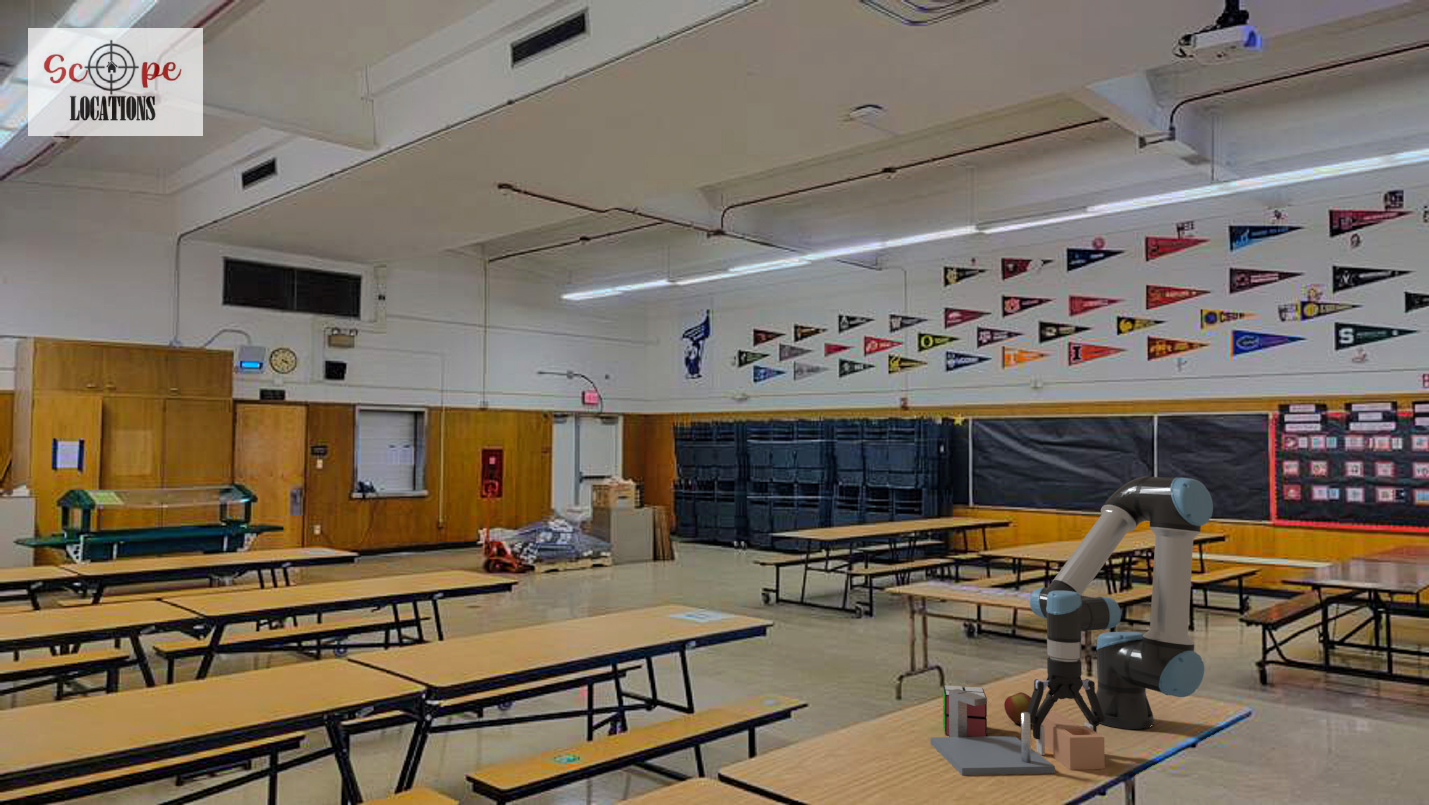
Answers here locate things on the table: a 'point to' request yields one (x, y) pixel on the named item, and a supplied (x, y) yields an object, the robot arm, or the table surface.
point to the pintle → (1025, 737)
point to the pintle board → (989, 755)
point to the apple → (1016, 706)
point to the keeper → (961, 710)
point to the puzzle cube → (974, 713)
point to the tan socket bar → (1073, 743)
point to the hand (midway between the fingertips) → (1064, 752)
